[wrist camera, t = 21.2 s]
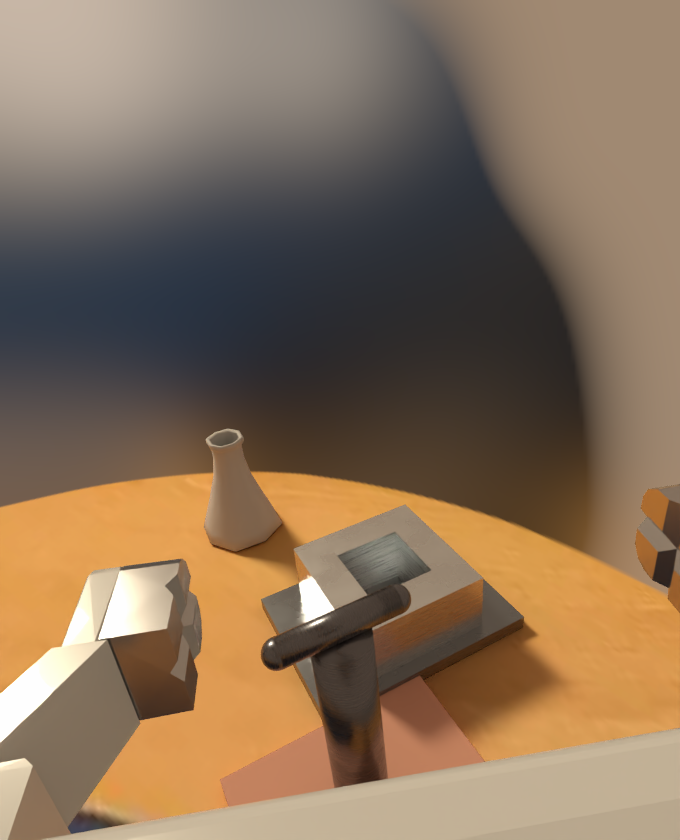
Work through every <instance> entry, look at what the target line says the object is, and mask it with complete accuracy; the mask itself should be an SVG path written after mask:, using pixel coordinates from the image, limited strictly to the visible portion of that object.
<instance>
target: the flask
mask: <svg viewBox="0 0 680 840" xmlns="http://www.w3.org/2000/svg"><path fill="white" fill-rule="evenodd" d="M206 442H207V444H208V446H209V448H210V450H211V451H212V455H213V464H214V465H213V467H214V476H213V482H212V488H211V494H210V500H209V505H208V509H207V514H206V519H205V524H204V528H205V530H206V533H207V535H208V538H209V540H210V543H211V544H213V545H216V546H219V547H222V548H226V549H229V550H232V551H235V552H236V551H239V550H242V549H245V548H247V547H250V546H253V545H256V544H259V543H261V542H264V541H266V540H267V539H268V538H269V537H270V536H271V535H272V533H273V532H274V531H275V530H276V529H277V528H278V527H279V526H280V525H281V524H282V521H281V519H280V518H279V516H278V515H277V513H276V511H275V510H274V508H273V506H272V505H271V503H270V502H269V500H268V499H267V497H266V496H265V494H264V493H263V491H262V490H261V488H260V487H259V485H258V484H257V482H256V481H255V479H254V477H253V476H252V474H251V472H250V470H249V468H248V465H247V463H246V461H245V458H244V455H243V450H242V443H243V442H244V438H243V436H242V434H241V433H240V431H237V430H232V429H225V430H222V431H218V432H215V433H214V434H212V435H211V436H209V437H208V438H207V439H206Z"/></svg>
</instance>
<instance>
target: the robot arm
mask: <svg viewBox="0 0 680 840" xmlns="http://www.w3.org/2000/svg"><path fill="white" fill-rule="evenodd" d="M641 509H642V511H643V512H644V513H645V515H646V516H647V518H646V519H645V520H644V521H643V522H642V524H641V525H640V526H639V527H638V528H637V533H636V541H635V545H636V549H637V555H638V559H639V561H640V563H641V565H642V567H643V569H644V570H645V571H646V573H647V574H648V575H649V577H650V578H651V579H652V580H653V581H655V582H658V583H659V584H662V585H664V586H666V587H668V588H669V589H668V600H669V601H670V602H671V603H672V604H673V606H674V607H675V608H676V609H677V610H678V611H679V613H680V484H678V485H673V486H665V487H659V488H652V489H648V490H647V492H646V493H645V495H644V496H643V500H642V505H641ZM190 577H191V576H190V573H189V570H188V567H187V564H186V561H184V560H183V559H176V560H168V561H160V562H153V563H145V564H137V565H129V566H124V567H117V568H109V569H102V570H94V571H93V572H92V573H91V574H90V575H89V576H88V577H87V580H86V583H85V585H84V588H83V591H82V593H81V596H80V599H79V601H78V604H77V606H76V609H75V612H74V614H73V617H72V620H71V622H70V625H69V628H68V630H67V633H66V635H65V638H64V641H63V643H62V646H61V647H56V648H52V649H51V650H49V651H48V652H47V653H46V654H45V655H44V656H43V657H42V658H40V659H39V660H38V661H37V662H36V663H35V664H34V665H33V666H31V667H30V668H29V669H28V670H27V671H26V672H25V673H24V674H23V675H21V676H20V677H19V678H18V679H17V680H16V681H15V682H14V683H12V684H11V685H10V686H9V687H8V688H7V689H6V690H5V691H3V692H2V693H1V694H0V840H680V728H676V729H670V730H665V731H659V732H653V733H648V734H642V735H636V736H630V737H625V738H619V739H613V740H608V741H602V742H596V743H590V744H585V745H579V746H573V747H567V748H562V749H556V750H550V751H545V752H539V753H533V754H527V755H522V756H516V757H510V758H504V759H499V760H493V761H487V762H481V763H476V764H470V765H464V766H458V767H453V768H447V769H441V770H435V771H430V772H424V773H418V774H412V775H407V776H401V777H395V778H390V779H384V780H378V781H372V782H367V783H361V784H355V785H350V786H344V787H338V788H332V789H327V790H321V791H315V792H310V793H304V794H298V795H292V796H287V797H281V798H275V799H269V800H264V801H258V802H252V803H247V804H241V805H235V806H229V807H224V808H218V809H212V810H207V811H201V812H195V813H189V814H184V815H178V816H172V817H166V818H161V819H155V820H149V821H144V822H138V823H132V824H126V825H121V826H115V827H109V828H104V829H98V830H92V831H86V832H81V833H75V834H71V833H70V832H69V830H68V828H67V827H68V826H69V824H70V823H71V822H72V820H73V819H74V817H75V816H76V814H77V813H78V812H79V810H80V809H81V807H82V806H83V804H84V803H85V802H86V800H87V799H88V797H89V796H90V794H91V793H92V792H93V790H94V789H95V787H96V786H97V784H98V783H99V782H100V780H101V779H102V777H103V776H104V775H105V773H106V772H107V770H108V769H109V767H110V766H111V765H112V763H113V762H114V760H115V759H116V757H117V756H118V755H119V753H120V752H121V750H122V749H123V747H124V746H125V745H126V743H127V742H128V740H129V739H130V737H131V736H132V735H133V733H134V732H135V730H136V729H137V727H138V726H139V725H140V721H139V720H144V719H149V718H155V717H160V716H165V715H170V714H175V713H180V712H186V711H191V710H194V701H195V693H196V685H197V677H198V674H197V670H196V667H195V663H194V659H195V658H196V656H197V655H198V654H199V653H200V650H201V640H202V629H201V616H200V609H199V605H198V601H197V597H196V596H195V595H194V594H193V593H191V592H190V591H189V584H190Z"/></svg>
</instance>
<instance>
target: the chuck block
mask: <svg viewBox="0 0 680 840" xmlns="http://www.w3.org/2000/svg"><path fill="white" fill-rule="evenodd" d="M293 550H294V556H295V562H296V568H297V574H298V580H299V584H296V585H294V586H292V587H289V588H287V589H285V590H282V591H280V592H277V593H275V594H273V595H270V596H268V597H265V598H263V599H261V601H262V606H263V609H264V611H265V613H266V615H267V617H268V619H269V621H270V623H271V624H272V626H273V628H274V630H275V632H276V634H277V635H278V634H281V633H283V632H285V631H287V630H290V629H292V628H294V627H296V626H299V625H301V624H303V623H305V622H308V621H310V620H312V619H314V618H317V617H319V616H321V615H323V614H326V613H328V612H330V611H332V610H335V609H337V608H339V607H341V606H344V605H346V604H348V603H350V602H353V601H355V600H357V599H359V598H362V597H364V596H366V595H368V594H371V593H373V592H375V591H377V590H380V589H382V588H384V587H387V586H389V585H391V584H400V585H403V586H404V587H406V588H407V589H408V591H409V592H410V595H411V605H410V607H409V608H408V610H407V611H406V612H404V613H403V614H401V615H399V616H396V617H394V618H392V619H390V620H388V621H386V622H384V623H381V624H379V625H377V626H375V627H373V628H372V630H373V637H374V647H375V656H376V666H377V676H378V685H379V695H380V696H381V695H383V694H385V693H387V692H389V691H391V690H393V689H395V688H396V687H398V686H400V685H402V684H404V683H406V682H408V681H410V680H412V679H414V678H416V677H418V676H419V675H420V677H421V678H422V679H425V678H427V677H429V676H431V675H433V674H435V673H437V672H439V671H440V670H442V669H444V668H446V667H448V666H450V665H452V664H454V663H456V662H458V661H459V660H461V659H463V658H465V657H467V656H469V655H471V654H473V653H475V652H477V651H478V650H480V649H482V648H484V647H486V646H488V645H490V644H492V643H494V642H495V641H497V640H499V639H501V638H503V637H505V636H507V635H509V634H511V633H513V632H514V631H516V630H518V629H520V628H522V627H523V623H524V617H523V616H522V615H521V614H520V613H519V612H518V611H517V610H516V609H515V608H514V607H513V606H512V605H511V604H509V603H508V602H507V601H506V600H505V599H504V598H503V597H502V596H501V595H500V594H499V593H498V592H497V591H496V590H495V589H494V588H492V587H491V586H490V585H489V584H488V583H487V582H486V581H485V580H484V579H483V577H482V576H480V575H479V574H478V573H477V572H476V571H475V570H474V569H473V568H472V567H471V566H470V565H469V564H468V563H467V562H466V561H465V560H463V559H462V558H461V557H460V556H459V555H458V554H457V553H456V552H455V551H454V550H453V549H452V548H451V547H450V546H449V545H448V544H446V543H445V542H444V541H443V540H442V539H441V538H440V537H439V536H438V535H437V534H436V533H435V532H434V531H433V530H432V529H430V528H429V527H428V526H427V525H426V524H425V523H424V522H423V521H422V520H421V519H420V518H419V517H418V516H417V515H416V514H415V513H413V512H412V511H411V510H410V509H409V508H408V507H407V506H406V505H403V506H400V507H398V508H395V509H393V510H390V511H388V512H385V513H382V514H380V515H377V516H375V517H372V518H370V519H367V520H365V521H362V522H360V523H357V524H355V525H352V526H350V527H347V528H345V529H342V530H340V531H337V532H335V533H332V534H329V535H327V536H324V537H322V538H319V539H317V540H314V541H312V542H309V543H307V544H304V545H302V546H299V547H297V548H294V549H293ZM293 666H294V668H295V670H296V672H297V674H298V675H299V677H300V679H301V681H302V683H303V685H304V687H305V689H306V691H307V692H308V694H309V696H310V698H311V700H312V702H313V704H314V706H315V708H316V709H317V711H318V713H319V715H320V717H321V711H320V706H319V700H318V695H317V689H316V684H315V678H314V673H313V667H312V662H311V657H309V658H306V659H304V660H302V661H300V662H298V663H296V664H294V665H293ZM321 719H322V717H321Z"/></svg>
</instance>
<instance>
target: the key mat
mask: <svg viewBox="0 0 680 840" xmlns="http://www.w3.org/2000/svg"><path fill="white" fill-rule="evenodd" d="M380 705H381V714H382V724H383V734H384V744H385V753H386V763H387V773H388V779H390V778H395V777H401V776H407V775H412V774H418V773H424V772H430V771H435V770H441V769H447V768H453V767H458V766H464V765H470V764H476V763H481V762H485V761H484V760H483V759H482V757H481V756H480V755H479V753H478V752H477V751H476V749H475V748H474V747H473V745H472V744H471V743H470V742H469V740H468V739H467V738H466V736H465V735H464V734H463V732H462V731H461V730H460V728H459V727H458V726H457V724H456V723H455V722H454V720H453V719H452V718H451V716H450V715H449V714H448V712H447V711H446V710H445V708H444V707H443V706H442V704H441V703H440V702H439V700H438V699H437V698H436V696H435V695H434V694H433V692H432V691H431V690H430V688H429V687H428V686H427V684H426V683H425V682H424V681H423V679H422V678H421V677H420V675H419V676H418V677H416V678H414V679H412V680H410V681H408V682H406V683H404V684H402V685H400V686H398V687H396V688H395V689H393V690H391V691H389V692H387V693H385V694H383V695H381V696H380ZM220 781H221V784H222V788H223V791H224V794H225V797H226V800H227V803H228V806H235V805H241V804H247V803H252V802H258V801H264V800H269V799H275V798H281V797H287V796H292V795H298V794H304V793H310V792H315V791H321V790H327V789H332V788H334V783H333V777H332V772H331V766H330V761H329V755H328V750H327V744H326V739H325V733H324V728H323V726H322V727H320V728H318V729H316V730H314V731H312V732H310V733H308V734H306V735H305V736H303V737H301V738H299V739H297V740H295V741H293V742H291V743H289V744H287V745H285V746H284V747H282V748H280V749H278V750H276V751H274V752H272V753H270V754H268V755H266V756H264V757H262V758H261V759H259V760H257V761H255V762H253V763H251V764H249V765H247V766H245V767H243V768H241V769H239V770H238V771H236V772H234V773H232V774H230V775H228V776H226V777H224V778H222V779H220Z"/></svg>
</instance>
